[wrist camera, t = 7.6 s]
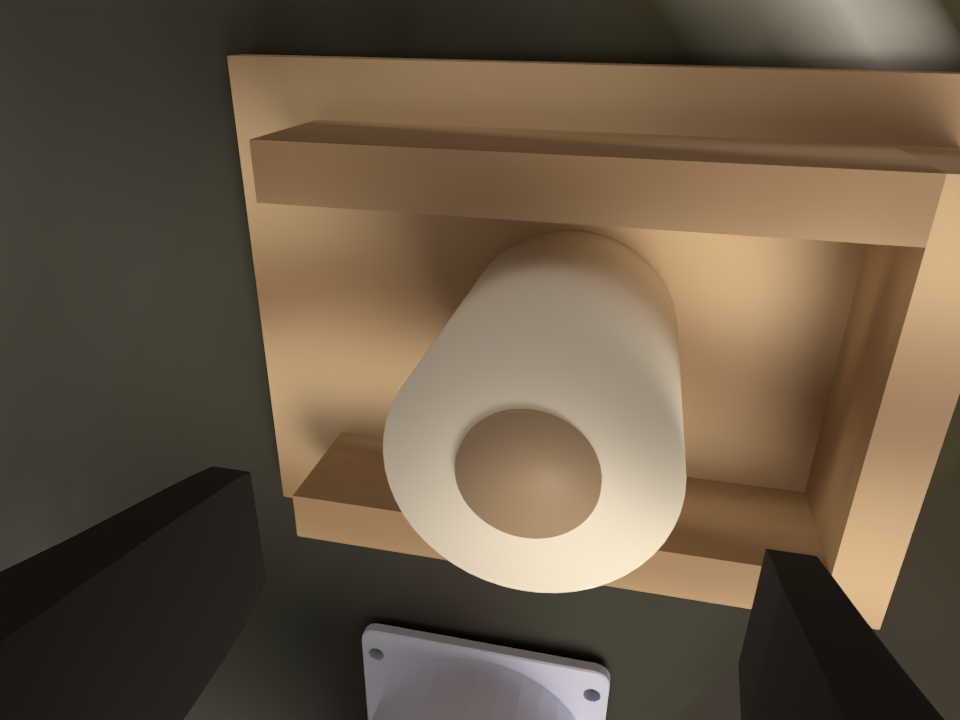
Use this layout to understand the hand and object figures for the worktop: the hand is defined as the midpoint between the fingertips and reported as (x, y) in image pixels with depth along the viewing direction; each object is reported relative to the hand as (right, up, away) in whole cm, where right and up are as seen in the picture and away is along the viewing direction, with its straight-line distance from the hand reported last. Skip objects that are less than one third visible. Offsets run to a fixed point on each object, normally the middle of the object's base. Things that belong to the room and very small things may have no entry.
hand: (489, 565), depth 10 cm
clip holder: (+2, +4, +8) cm, 9 cm away
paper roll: (+2, +4, +7) cm, 8 cm away
